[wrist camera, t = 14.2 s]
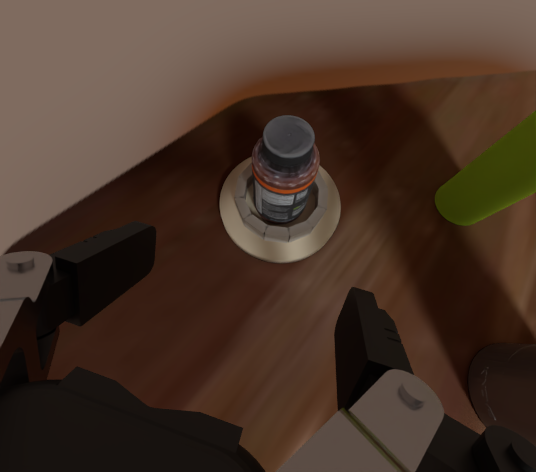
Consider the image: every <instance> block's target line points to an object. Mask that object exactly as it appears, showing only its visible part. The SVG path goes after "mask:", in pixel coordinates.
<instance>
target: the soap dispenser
mask: <svg viewBox="0 0 536 472" xmlns="http://www.w3.org/2000/svg"><path fill="white" fill-rule="evenodd" d="M535 192H536V111H534V112H533V113H532V114H531V115H530V116H528V117H527V118H526V119H525V120H523V121H522V122H521V123H520V124H518V125H517V126H516V127H515V128H513V129H512V130H511V131H510V132H508V133H507V134H506V135H505V136H503V137H502V138H501V139H500V140H498V141H497V142H496V143H495V144H493V145H492V146H491V147H490V148H488V149H487V150H486V151H485V152H483V153H482V154H481V155H480V156H478V157H477V158H476V159H475V160H473V161H472V162H471V163H470V164H468V165H467V166H466V167H465V168H463V169H462V170H461V171H460V172H458V173H457V174H456V175H455V176H454V177H452V178H451V179H450V180H449V181H447V182H446V183H445V184H444V185H442V186H441V187H440V188H439V189H438V190H437V192H436V194H435V205H436V207H437V209H438V211H439V213H440V214H441V215H442V216H443V217H444V218H445V219H447V220H448V221H450V222H451V223H454V224H457V225H461V226H467V225H472V224H474V223H476V222H478V221H480V220H482V219H484V218H486V217H488V216H490V215H492V214H494V213H496V212H498V211H500V210H502V209H504V208H506V207H508V206H510V205H512V204H514V203H516V202H517V201H519V200H521V199H523V198H525V197H527V196H529V195H531V194H533V193H535Z"/></svg>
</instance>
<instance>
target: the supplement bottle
mask: <svg viewBox="0 0 536 472" xmlns="http://www.w3.org/2000/svg"><path fill="white" fill-rule="evenodd" d="M314 141H315V136H314V131H313V129H312V127H311V126H310V125H309V124H308V123H307V122H306V121H305V120H303V119H301V118H299V117H295V116H290V115H284V116H279V117H276V118H274V119H273V120H271V121H270V122H269V123H268V124H267V125H266V127H265V129H264V131H263V136H262V137H261V138H260V139H259V140H258V142H257V143H256V145H255V146H254V149H253V152H252V178H253V196H254V197H253V199H254V204H255V208H256V210H257V212H258V213H259V215H260V216H261V217H262V218H263V219H265V220H266V221H268V222H271V223H274V224H287V223H290V222H292V221H294V220H296V219H297V218H298V217H299V216H300V215H301V214H302V212H303V210H304V208H305V206H306V203H307V201H308V198H309V195H310V192H311V189H312V186H313V184H314V181H315V178H316V175H317V172H318V169H319V162H320V158H319V152H318V149H317V147H316V145H315V144H314Z"/></svg>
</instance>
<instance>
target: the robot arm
mask: <svg viewBox="0 0 536 472" xmlns="http://www.w3.org/2000/svg"><path fill="white" fill-rule="evenodd" d="M155 245H156V229H155V227H154V226H151V225H147V224H144V223H141V222H137V221H134V222H131V223H129V224H127V225H125V226H122V227H120V228H118V229H114V230H109V231H104V232H102V233H100V234H97V235H95V236H93V238H92V237H90V238H88V239H86V240H84V241H83V242H79V243H76V244H74V245H72V246H69V247H67V248H64V249H62V250H60V251H57V252H55V253H53V254H50V255H47V254H45V253H41V252H34V251H24V252H15V253H10V254H6V255H2V256H0V472H265V470H264V469H263V468H262V466H261V465H260V464H259V463H258V461H257V460H256V459H255V458H254V457H253V456H252V455H251V454H250V453H249V452H248V451H247V450H246V449H244V448H243V447H242V446H241V445H239V441H240V437H241V433H242V430H243V428H241V427H239V426H236V425H233V424H231V423H228V422H225V421H222V420H220V419H217V418H214V417H212V416H209V415H206V414H204V413H201V412H192V411H181V410H169V409H158V408H151V407H149V406H147V405H145V404H144V403H143V402H142V401H140V400H139V399H138V398H137V397H135V396H134V395H133V394H132V393H130V392H129V391H128V390H127V389H125V388H124V387H123V386H122V385H120V384H119V383H118V382H117V381H115V380H112V379H109V378H107V377H104V376H101V375H99V374H96V373H93V372H91V371H88V370H85V369H82V368H80V367H76V368H75V369H74V370H73V371H71V372H70V373H69V374H68V375H67V376H66V377H65V378H64V379H63V380H47V377H48V373H49V370H50V366H51V362H52V359H53V355H54V351H55V348H56V344H57V340H58V337H59V332H60V330H59V325H60V324H62V323H63V322H64V321H66V322H69V323H72V324H75V325H78V326H80V327H81V326H82V325H83V324H85V323H86V322H87V321H89V320H90V319H91V318H92V317H94V316H95V315H96V314H98V313H99V312H100V311H102V310H103V309H104V308H105V307H107V306H108V305H109V304H111V303H112V302H113V301H114V300H116V299H117V298H118V297H120V296H121V295H122V294H123V293H125V292H126V291H127V290H129V289H130V288H131V287H133V286H134V285H135V284H136V283H138V282H139V281H140V280H142V279H143V278H144V277H145V276H147V275H148V274H149V273H150V271H151V269H152V267H153V265H154V260H155ZM334 338H335V359H336V380H337V401H338V412H337V413H336V414H335V415H334V416H333V417H332V418H331V419H330V420H328V421H327V422H326V423H325V424H324V425H323V426H322V427H321V428H320V429H319V430H318V431H317V432H316V433H315V434H314V435H313V436H312V437H311V438H310V439H309V440H308V441H307V442H306V443H305V444H304V445H303V446H302V447H301V448H300V449H299V450H298V451H297V452H296V453H295V454H294V455H293V456H292V457H290V458H289V459H288V460H287V461H286V462H285V463H284V464H283V465H282V466H281V467H280V468H279V469H278V470H277V471H276V472H536V344H514V343H498V344H492V345H489V346H486V347H485V348H483V349H482V350H481V351H479V352H478V354H477V355H476V356H475V357H474V359H473V361H472V363H471V366H470V369H469V375H468V388H469V393H470V397H471V401H472V403H473V406H474V408H475V411H476V412H477V414H478V416H479V417H480V419H481V421H482V422H483V423H484V425H485V426H486V427H487V428H486V429H485V431H484V432H483V433H482V434H481V435H480V434H478V433H476V432H475V431H473V430H471V429H470V428H468V427H466V426H464V425H463V424H461V423H459V422H458V421H456V420H454V419H453V418H451V417H449V416H448V415H446V414H445V413H444V410H443V406H442V404H441V402H440V400H439V398H438V397H437V395H436V394H435V393H434V392H433V390H432V389H431V388H430V387H429V386H428V385H427V384H425V383H424V382H423V381H422V380H420V379H419V378H418V377H416V376H414V374H413V371H412V368H411V366H410V363H409V360H408V358H407V355H406V352H405V350H404V347H403V344H401V339H400V336H399V334H398V331H397V328H396V326H395V323H394V321H393V320H392V319H391V317H390V316H389V315H388V314H387V313H386V311H385V310H382V309H379V308H378V306H377V303H376V300H375V297H374V294H373V293H372V292H368V291H365V290H362V289H358V288H355V287H352V288H351V289H350V291H349V293H348V295H347V298H346V300H345V303H344V305H343V308H342V310H341V312H340V315H339V317H338V320H337V323H336V327H335V334H334Z"/></svg>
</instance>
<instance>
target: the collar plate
mask: <svg viewBox="0 0 536 472" xmlns="http://www.w3.org/2000/svg"><path fill="white" fill-rule="evenodd" d="M253 197H254V196H253V178H252V157H250V158H248V159H246V160H244V161H243V162H242V163H240V164H239V165H238V166H237V167H235V168H234V169H233V171H232V172H231V173H230V174H229V176H228V177H227V179H226V180H225V182H224V185H223V187H222V190H221V194H220V213H221V217H222V220H223V223H224V227H225V229H226V231H227V233H228V235H229V236H230V238H231V239H232V241H233V242H234V243H235V244H236V245H237V246H238V247H239V248H240V249H241V250H243V251H244V252H245V253H247V254H249V255H250V256H252V257H254V258H256V259H259V260H262V261H266V262H271V263H291V262H296V261H299V260H302V259H305V258H307V257H309V256H311V255H313V254H314V253H316V252H317V251H318V250H319V249H321V248H322V247H323V246H324V245H325V243H326V242H327V241H328V240H329V238H330V237H331V236H332V234H333V232H334V231H335V229H336V226H337V224H338V221H339V217H340V209H341V207H340V198H339V193H338V190H337V188H336V186H335V184H334V182H333V180H332V179H331V177H330V176H329V174H328V173H327V172H326V171H325V170H324V169H323V168H322V167H321V166H320V165H319V169H318V172H317V175H316V178H315V181H314V184H313V186H312V189H311V192H310V195H309V198H308V201H307V203H306V206H305V208H304V210H303V212H302V214H301V215H300V216H299V217H298V218H297V219H296V220H294V221H292V222H290V223H287V224H274V223H271V222H268V221H266V220H265V219H263V218H262V217H261V216H260V215H259V213H258V212H257V210H256V208H255V204H254V199H253Z"/></svg>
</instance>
